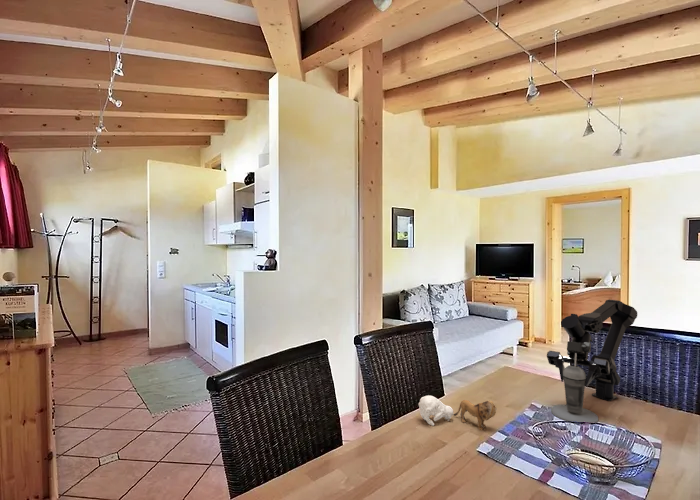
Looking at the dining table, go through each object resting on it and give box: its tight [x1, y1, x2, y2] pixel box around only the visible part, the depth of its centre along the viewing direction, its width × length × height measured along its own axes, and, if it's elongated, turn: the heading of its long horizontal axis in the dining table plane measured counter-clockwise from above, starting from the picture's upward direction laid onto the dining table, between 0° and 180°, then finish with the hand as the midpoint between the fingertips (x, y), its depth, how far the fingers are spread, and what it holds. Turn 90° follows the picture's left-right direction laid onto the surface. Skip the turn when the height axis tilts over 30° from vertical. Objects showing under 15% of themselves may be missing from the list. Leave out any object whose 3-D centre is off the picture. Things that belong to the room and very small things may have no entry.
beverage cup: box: [563, 353, 587, 413], centre depth 131 cm, size 7×7×20 cm
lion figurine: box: [453, 399, 497, 431], centre depth 124 cm, size 15×5×9 cm, turn 46°
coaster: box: [550, 404, 599, 423], centre depth 131 cm, size 14×14×1 cm
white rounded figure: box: [418, 395, 454, 427], centre depth 126 cm, size 6×8×12 cm
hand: (573, 383), depth 130 cm, fingers closed on beverage cup, 7 cm apart
